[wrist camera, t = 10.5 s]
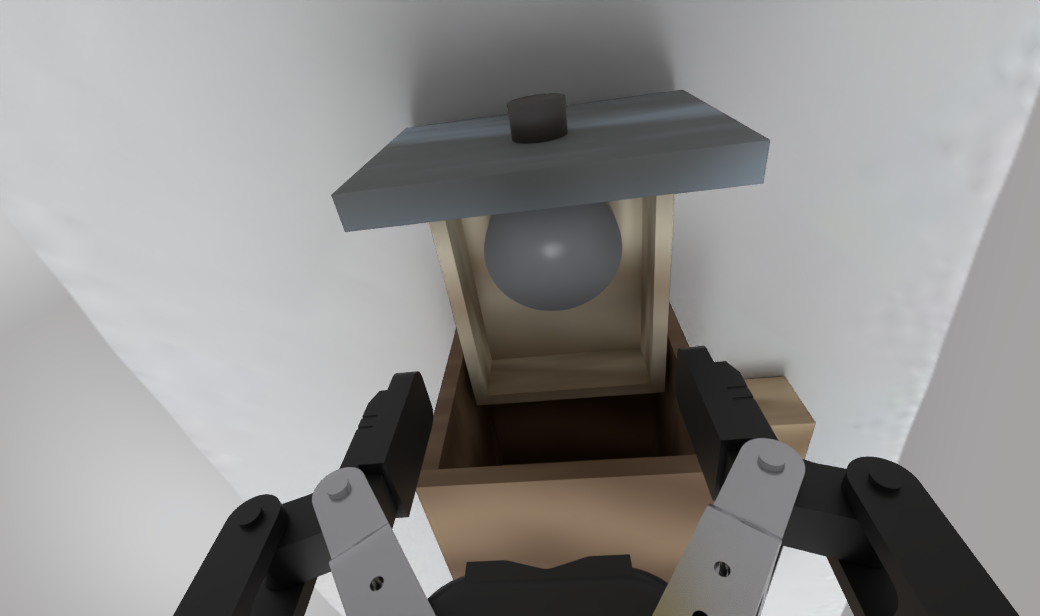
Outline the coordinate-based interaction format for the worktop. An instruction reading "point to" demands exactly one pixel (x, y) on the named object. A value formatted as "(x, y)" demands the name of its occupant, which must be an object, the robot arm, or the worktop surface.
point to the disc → (554, 254)
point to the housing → (562, 475)
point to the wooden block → (783, 411)
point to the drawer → (549, 184)
